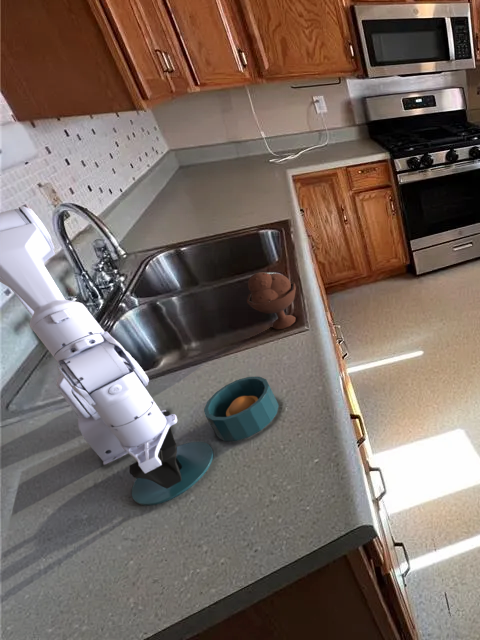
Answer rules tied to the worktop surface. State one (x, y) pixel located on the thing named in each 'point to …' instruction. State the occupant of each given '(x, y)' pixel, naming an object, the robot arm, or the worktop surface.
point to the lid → (192, 467)
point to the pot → (247, 419)
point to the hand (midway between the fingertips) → (172, 468)
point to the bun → (240, 404)
